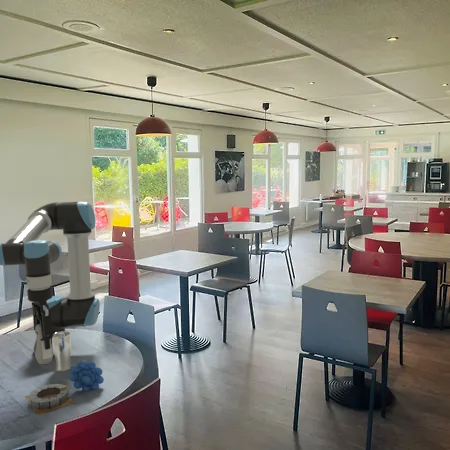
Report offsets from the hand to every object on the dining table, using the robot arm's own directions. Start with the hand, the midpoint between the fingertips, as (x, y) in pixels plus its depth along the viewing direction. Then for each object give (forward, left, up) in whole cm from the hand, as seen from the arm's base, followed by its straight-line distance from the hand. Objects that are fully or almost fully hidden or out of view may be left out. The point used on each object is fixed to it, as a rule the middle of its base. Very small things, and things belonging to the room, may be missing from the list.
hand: (44, 354), depth 154 cm
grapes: (+2, +13, -17) cm, 22 cm away
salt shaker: (0, 0, -3) cm, 3 cm away
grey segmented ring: (0, 0, -16) cm, 16 cm away
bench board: (0, 0, -17) cm, 17 cm away
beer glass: (-22, +12, -17) cm, 30 cm away
